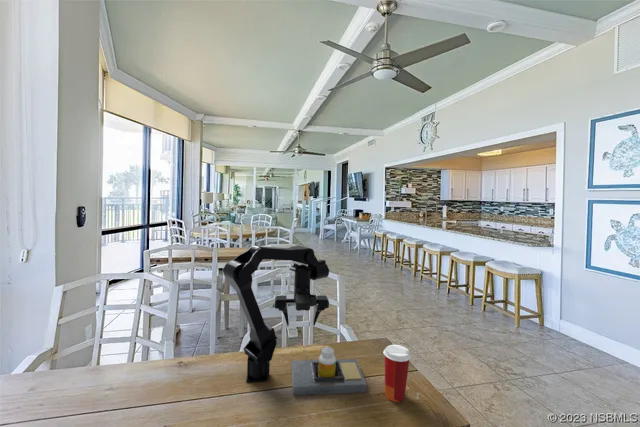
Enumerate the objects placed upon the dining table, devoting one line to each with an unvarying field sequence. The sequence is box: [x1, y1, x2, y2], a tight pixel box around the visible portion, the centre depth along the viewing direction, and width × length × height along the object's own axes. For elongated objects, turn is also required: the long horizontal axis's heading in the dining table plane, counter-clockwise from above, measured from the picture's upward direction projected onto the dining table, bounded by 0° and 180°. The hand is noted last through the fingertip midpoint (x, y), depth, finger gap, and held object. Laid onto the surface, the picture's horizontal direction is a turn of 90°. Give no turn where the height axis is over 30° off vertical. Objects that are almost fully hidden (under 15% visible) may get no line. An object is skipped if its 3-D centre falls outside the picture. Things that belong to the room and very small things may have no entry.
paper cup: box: [383, 344, 412, 403], centre depth 91 cm, size 8×8×14 cm
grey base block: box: [291, 358, 368, 396], centre depth 98 cm, size 22×14×3 cm, turn 97°
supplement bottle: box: [317, 346, 337, 377], centre depth 98 cm, size 5×5×10 cm
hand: (300, 325), depth 109 cm, fingers open, 9 cm apart
